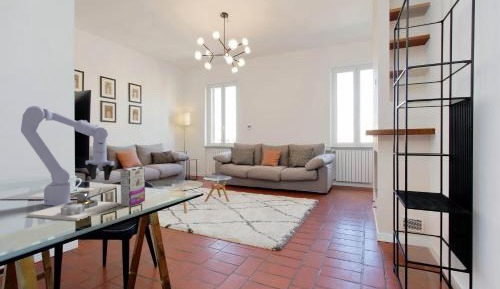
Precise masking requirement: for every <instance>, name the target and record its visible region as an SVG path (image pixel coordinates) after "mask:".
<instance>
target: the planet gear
mask: <svg viewBox="0 0 500 289" xmlns="http://www.w3.org/2000/svg"><path fill="white" fill-rule="evenodd" d="M76 197H77V198H76V200H77V201H76V200H75V201H76V202H74V203H72V204H82V205H89V204H92V201H90V200H91V199H88V193H87V192H81V193H77V194H76Z"/></svg>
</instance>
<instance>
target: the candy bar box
mask: <svg viewBox="0 0 500 289" xmlns="http://www.w3.org/2000/svg"><path fill="white" fill-rule="evenodd" d="M119 172H120V174H119V175H120V206H121V207H132V206H135V205H137V204H139V203H142V202H144V201H146V184H145V183H146V182H145V181H146V180H145V176H146V175H145V174H146V173H145V172H146V171H145V166H133V167H126V168H123V169H120V171H119Z"/></svg>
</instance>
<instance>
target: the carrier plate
mask: <svg viewBox="0 0 500 289" xmlns="http://www.w3.org/2000/svg"><path fill="white" fill-rule="evenodd" d="M89 200H90V201H92V204H89V205H82V204H72V203H74V202H76V201H77V199H76V200H71V201H72V202H69V203H65V204H62V205H58V206H51V207H48V208H44V209H41V210H36V211H33V212H30V213H27V217H28V218H29V217H30V218H40V219H53V220H67V221H75V222H77V221H81V220H83V219H86V218H89V217H91V216H94V215H97V214H99V213H102V212H104V211H107V210H109V209H112V208H115V207H118V206H120V202H113V201H98V200H97V199H89ZM88 216H89V217H88ZM80 219H81V220H80Z"/></svg>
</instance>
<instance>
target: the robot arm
mask: <svg viewBox="0 0 500 289" xmlns="http://www.w3.org/2000/svg"><path fill="white" fill-rule="evenodd" d="M44 119H45V121H46V122H47V121H55V122H58V123H60V124H64V125H65V126H69V127H73V129H74V130H75V132H78V133H81V134H83V135H86V136H88V137H92V140H93V143H92V160H85V166H84V167H85V168H86V170H87V172H88V174H89V178H90V180H92V181H93V180H96V178H97V177H96V176H97V169H98V166H102V171H103V178H104V181H109V180H110V177H111V174H112V171H113V170H114V168H115V161H114V160H113V161H112V160H107V158H108V156H107V154H108V151H107V150H108V149H107V147H108V146H107V145H108V144H107V137H108V135H109V133H108V131H107V129H105V127H99V125H97V124H93V123H90V122H88V120H86V119H84V120H83V119H80V120H75V119H73V118H70V117H68V116H66V115H63V114H61V113H58V112H56V111H53V110H50V109H47V108H42V107H40V106H37V105H32V106H28V107H27V108H26V109H25V110H24V113H23V114H22V119H21V127H20V133H21V134H22V136H24V137H25V140H26V141H27V143H29V145H30V146H31V148H32V149H33V150H34V152H35V154H36V155H37V156H38V157H39V159H40V160H41V161H42V163H43V165H44V166H45V167H46V169H47V170H48V172H49V173H50V178H51V181H52V182H50V183H49V184H47V185H46V186H45V188H44V190H43V203H42V204H41V205H42V206H51V205H52V206H51V207H54V206H58V205H62V204H65V203H69V202H72V201H73V200H71V182H70V181H69V180H70V177H71V176H70V174H69V172H68V171H67V170H66V169H65V168H63V167H62V166H61V165H60V164H59V162H58V161H57V159H56V157H55V156H54V155H53V154H52V152H51V150H50V148H49V147H48V146H47V144H46V143H45V142H44V141H43V139H42V138H41V136H40V135H39V133H38V132H37V129H38V127H39V125H40V124H41V122H43V120H44Z"/></svg>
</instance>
